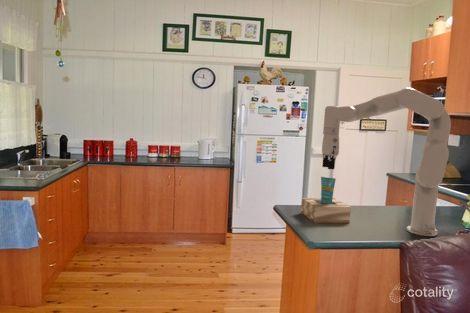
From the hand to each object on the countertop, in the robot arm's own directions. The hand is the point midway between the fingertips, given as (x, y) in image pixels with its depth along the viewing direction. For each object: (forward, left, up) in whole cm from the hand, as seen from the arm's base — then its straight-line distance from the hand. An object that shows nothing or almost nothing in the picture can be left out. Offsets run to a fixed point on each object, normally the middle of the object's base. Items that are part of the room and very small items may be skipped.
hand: (328, 167), depth 187 cm
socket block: (0, 0, -26) cm, 26 cm away
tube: (-1, 0, -24) cm, 24 cm away
